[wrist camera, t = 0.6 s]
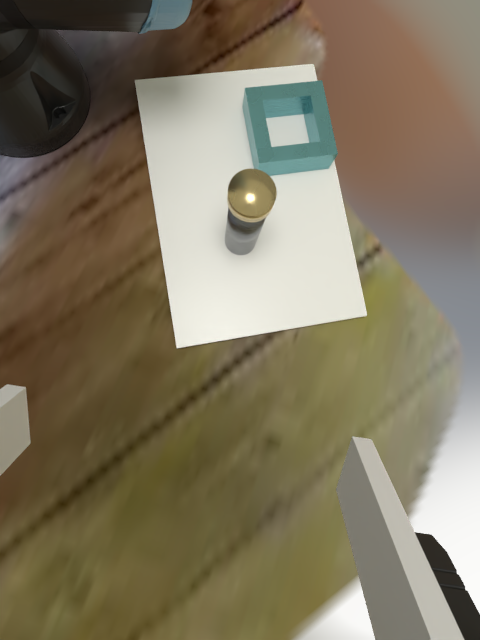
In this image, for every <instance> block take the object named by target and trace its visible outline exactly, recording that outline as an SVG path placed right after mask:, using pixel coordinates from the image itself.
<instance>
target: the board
mask: <svg viewBox="0 0 480 640" xmlns="http://www.w3.org/2000/svg"><path fill="white" fill-rule="evenodd" d="M311 81H317V77H316V73H315V68H314V64H307V65H296V66H285V67H274V68H263V69H252V70H241V71H230V72H219V73H207V74H196V75H185V76H174V77H163V78H152V79H141V80H135V85H136V92H137V98H138V104H139V111H140V117H141V124H142V130H143V136H144V143H145V149H146V155H147V162H148V168H149V175H150V181H151V187H152V194H153V200H154V206H155V213H156V219H157V226H158V232H159V238H160V245H161V251H162V257H163V264H164V270H165V276H166V283H167V289H168V296H169V302H170V308H171V315H172V321H173V327H174V334H175V340H176V347H177V348H183V347H189V346H195V345H201V344H207V343H213V342H218V341H224V340H230V339H236V338H242V337H248V336H253V335H259V334H265V333H271V332H277V331H283V330H288V329H294V328H300V327H306V326H312V325H318V324H323V323H329V322H335V321H341V320H347V319H353V318H358V317H364V316H367V312H366V307H365V303H364V298H363V293H362V288H361V284H360V279H359V274H358V270H357V265H356V260H355V256H354V251H353V246H352V242H351V237H350V232H349V227H348V223H347V218H346V213H345V209H344V204H343V199H342V195H341V190H340V185H339V181H338V177H337V171H336V166H335V163H334V161H333V163H332V164H331V166H330V167H329V169H322V170H314V171H306V172H298V173H290V174H282V175H274V176H270V177H271V178H272V180H273V181H274V183H275V186H276V190H277V196H276V200H275V203H274V205H273V208H272V210H271V212H270V213H269V215H268V216H267V217H266V219H265V222H264V224H263V227H262V229H261V232H260V234H259V237H258V239H257V242H256V244H255V247H254V249H253V250H252V251H251V252H250V253H248V254H246V255H236V254H233V253H232V252H230V251H229V250H228V248H227V247H226V244H225V232H226V223H227V215H228V203H227V194H228V186H229V183H230V181H231V179H232V177H233V176H234V175H235V174H236V173H238V172H239V171H241V170H244V169H251V168H252V169H254V166H253V161H252V156H251V151H250V145H249V140H248V135H247V129H246V124H245V119H244V113H243V108H242V106H243V98H244V90H245V88H248V87H258V86H269V85H279V84H290V83H300V82H311ZM266 121H267V126H268V132H269V137H270V142H271V147H277V146H285V145H294V144H303V143H309V138H308V134H307V129H306V124H305V119H304V114H301V115H291V116H282V117H272V118H266Z"/></svg>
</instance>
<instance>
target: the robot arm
mask: <svg viewBox="0 0 480 640" xmlns="http://www.w3.org/2000/svg"><path fill="white" fill-rule="evenodd" d="M191 6H192V0H0V154H3V155H7V156H14V157H30V156H37V155H41V154H45V153H48V152H50V151H53V150H55V149H57V148H59V147H60V146H62V145H64V144H65V143H66V142H68V141H69V140H70V139H71V138H72V137H73V136H74V135H75V134H76V133H77V132H78V130H79V129H80V128H81V126H82V125H83V123H84V121H85V119H86V116H87V113H88V110H89V105H90V89H89V84H88V81H87V78H86V75H85V73H84V71H83V69H82V66H81V64H80V62H79V60H78V58H77V56H76V55H75V53H74V52H73V50H72V49H71V47H70V46H69V45H68V44H67V43H66V42H65V41H64V39H63V38H62V37H61V36H60V35H59V34H58V33H57V32H56V30H87V31H123V32H138V33H140V34H142V33H146V32H147V31H148V30H163V29H175V28H177V27H179V26H180V25H181V24H183V23H184V22H185V21H186V19H187V18H188V16H189V13H190V10H191ZM30 443H31V442H30V431H29V419H28V407H27V395H26V387H21V386H14V385H8V384H7V385H5V386H4V387H3V388H1V389H0V475H1V474H2V473H3V472H4V471H5V470H6V469H7V468H8V467H9V466H10V465H11V464H12V463H13V462H14V460H15V459H16V458H17V457H18V456H19V455H20V454H21V453H22V452H23V451H24V450H25V449H26V448H27V447H28V446H29V444H30ZM336 491H337V495H338V499H339V502H340V506H341V510H342V514H343V518H344V521H345V525H346V529H347V533H348V537H349V540H350V544H351V548H352V552H353V556H354V559H355V563H356V567H357V571H358V575H359V579H360V582H361V586H362V590H363V594H364V598H365V601H366V605H367V609H368V613H369V616H370V620H371V624H372V628H373V632H374V636H375V640H480V614H479V612H478V610H477V609H476V607H475V605H474V603H473V601H472V599H471V597H470V595H469V593H468V591H466V590H465V586H464V584H463V582H462V580H461V578H460V577H459V575H458V574H457V573H456V569H455V567H454V565H453V563H452V561H451V559H450V557H449V556H448V554H447V552H446V551H445V550H444V548H443V547H442V546H441V545H440V544H439V543H438V542H437V541H436V539H435V538H434V537H433V536H432V535H429V534H422V533H416V532H414V530H413V528H412V526H411V524H410V521H409V519H408V517H407V515H406V513H405V511H404V508H403V506H402V504H401V502H400V500H399V498H398V496H397V493H396V491H395V489H394V487H393V485H392V483H391V480H390V478H389V476H388V474H387V472H386V470H385V467H384V465H383V463H382V461H381V459H380V457H379V455H378V452H377V450H376V448H375V446H374V444H373V442H372V439H366V438H360V437H353V436H352V439H351V442H350V446H349V449H348V452H347V455H346V459H345V462H344V465H343V469H342V472H341V475H340V479H339V482H338V485H337V488H336Z"/></svg>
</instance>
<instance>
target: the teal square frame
mask: <svg viewBox="0 0 480 640" xmlns="http://www.w3.org/2000/svg"><path fill="white" fill-rule="evenodd" d="M242 108H243V113H244V119H245V124H246V129H247V135H248V140H249V145H250V151H251V156H252V161H253V166H254V169H258V170H261V171H263V172H265V173H267V174H268V175H269V176H274V175H282V174H290V173H298V172H306V171H314V170H322V169H329V167H330V166H331V164H332V163H333V161H334V159H335V158H336V156H337V154H338V153H337V148H336V143H335V139H334V134H333V129H332V125H331V120H330V115H329V111H328V106H327V102H326V97H325V92H324V88H323V83H322V80H321V81H311V82H300V83H290V84H279V85H269V86H258V87H248V88H245V90H244V98H243V106H242ZM301 114H304V119H305V124H306V129H307V134H308V138H309V143H303V144H294V145H285V146H277V147H271V142H270V137H269V132H268V126H267V121H266V118H272V117H282V116H291V115H301Z"/></svg>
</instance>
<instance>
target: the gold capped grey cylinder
mask: <svg viewBox="0 0 480 640" xmlns="http://www.w3.org/2000/svg"><path fill="white" fill-rule="evenodd" d="M276 196H277V190H276V186H275V183H274V181H273V180H272V178H271V177H270V176H269V175H268V174H267V173H265V172H263V171H261V170H258V169H252V168H251V169H244V170H241V171H239V172H238V173H236V174H235V175H234V176H233V177H232V179H231V181H230V183H229V186H228V194H227V203H228V215H227V223H226V232H225V244H226V247H227V248H228V250H229V251H230V252H232V253H233V254H236V255H246V254H248V253H250V252H251V251H252V250H253V249H254V247H255V244H256V242H257V239H258V237H259V234H260V232H261V229H262V227H263V224H264V222H265V219H266V217H267V216H268V215H269V213H270V212H271V210H272V208H273V205H274V203H275V200H276Z"/></svg>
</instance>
